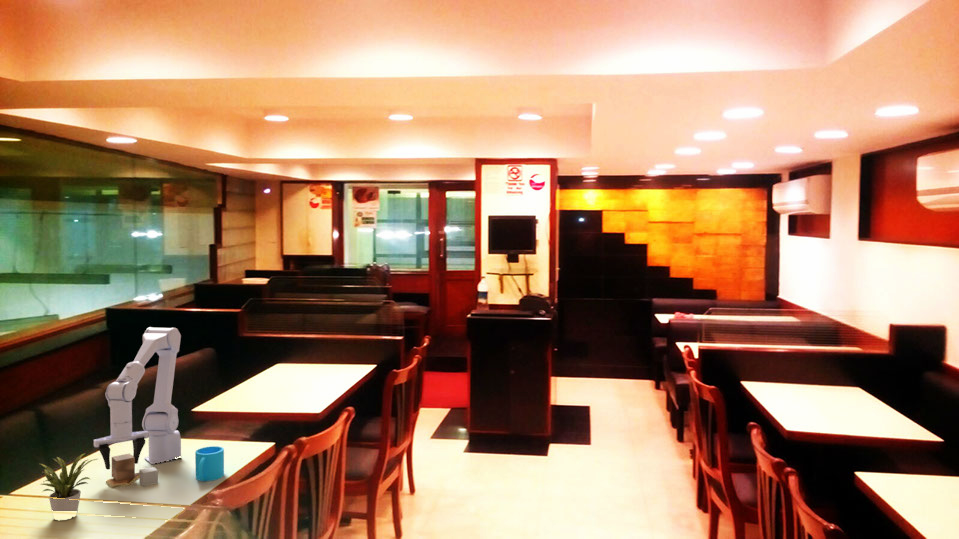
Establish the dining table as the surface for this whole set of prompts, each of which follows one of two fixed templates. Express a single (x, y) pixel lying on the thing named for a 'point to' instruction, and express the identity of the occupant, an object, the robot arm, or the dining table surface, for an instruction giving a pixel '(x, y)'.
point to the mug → (209, 463)
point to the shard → (122, 481)
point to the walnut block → (123, 467)
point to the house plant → (65, 486)
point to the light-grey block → (148, 476)
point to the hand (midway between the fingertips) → (121, 465)
